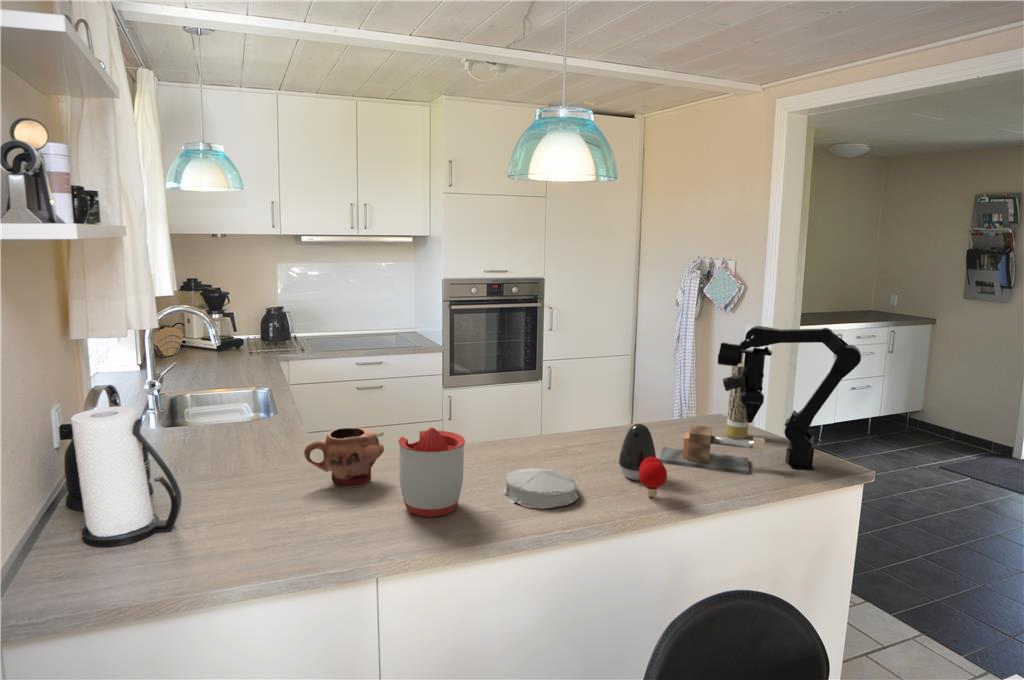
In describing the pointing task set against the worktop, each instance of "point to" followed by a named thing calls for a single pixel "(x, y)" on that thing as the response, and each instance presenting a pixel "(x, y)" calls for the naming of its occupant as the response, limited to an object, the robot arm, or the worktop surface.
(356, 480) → the brown sculpted mug
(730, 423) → the patterned tall cylinder
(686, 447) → the spacer collar
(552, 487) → the food container
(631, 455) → the black rounded cone
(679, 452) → the bearing block
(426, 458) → the citrus juicer
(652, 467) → the light bulb
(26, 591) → the worktop surface
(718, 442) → the shaft
